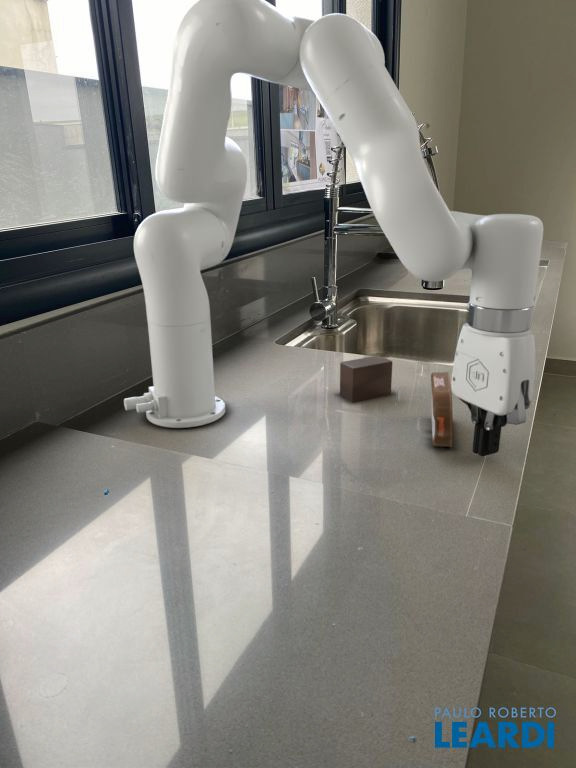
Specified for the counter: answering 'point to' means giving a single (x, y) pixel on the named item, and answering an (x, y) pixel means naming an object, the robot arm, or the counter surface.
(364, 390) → the block
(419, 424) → the counter surface
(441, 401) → the tin
